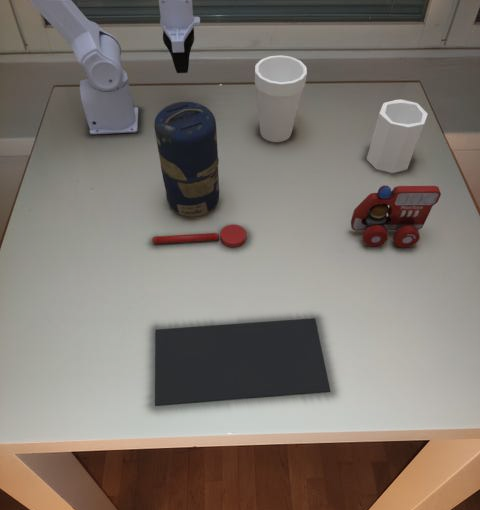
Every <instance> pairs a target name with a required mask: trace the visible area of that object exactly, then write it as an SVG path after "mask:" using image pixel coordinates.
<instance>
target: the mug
mask: <svg viewBox="0 0 480 510" xmlns="http://www.w3.org/2000/svg"><path fill="white" fill-rule="evenodd" d="M428 115H429V113H427V111H426V110H425V109H424V108H423V107H422V106H421V105H420V104H419V103H418V102H415V101H410V100H407V99H403V98H402V99H401V98H399V99H393V100H391V101H386V102H383V104H382V105H381V108H380V110H379V113H378V117H377V120H376V124H375V127H374V131H373V135H372V139H371V142H370V145H369V149H368V153H367V156H366V160H367V161H368V163H370V164H371V165H372V166H373V167H374V169H376V170H378V171H382V172H386V173H391V174H396V173H399V172H403V171H407V170H408V168H409V166H410V164H411V160H412V158H413V155H414V153H415V150H416V147H417V146H418V145H417V144H418V142H419V139H420V136H421V135H422V131H423V128H424V126H425V123H426V120H427V117H428Z"/></svg>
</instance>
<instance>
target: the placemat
mask: <svg viewBox="0 0 480 510" xmlns="http://www.w3.org/2000/svg"><path fill="white" fill-rule="evenodd" d="M154 337H155V338H154V339H155V342H154V345H155V347H154V406H155V407H157V406H168V405H169V406H170V405H181V404H192V403H193V404H194V403H207V402H218V401H219V402H220V401H232V400H245V399H255V398H256V399H257V398H270V397H282V396H293V395H305V394H306V395H307V394H320V393H330V392H331V387H330V382H329V377H328V372H327V367H326V363H325V358H324V353H323V348H322V343H321V340H320V334H319V331H318V324H317V321H316V317H313V318H299V319H297V318H296V319H283V320H270V321H255V322H242V323H230V324H228V323H227V324H214V325H200V326H199V325H198V326H187V327H173V328H172V327H171V328H158V329H155V334H154Z"/></svg>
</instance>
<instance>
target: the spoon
mask: <svg viewBox="0 0 480 510" xmlns="http://www.w3.org/2000/svg"><path fill="white" fill-rule="evenodd" d="M219 239H220V242H221V243H222V244H223V245H224V246H226V247H228V248H239V247H241V246H243V245H244V244H245V242H246V241H247V231H246V229H245V228H243V226H241V225H239V224H228V225H226V226H224V227H223V228H222V229H221V230H220V233H217V232H210V233H209V232H207V233H193V234H191V233H190V234H174V235H159V236H154V237H152V239H151V241H152V243H153V244H155V245H158V244H161V245H162V244H174V243H175V244H176V243H177V244H178V243H191V242H206V241H218V240H219Z"/></svg>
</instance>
